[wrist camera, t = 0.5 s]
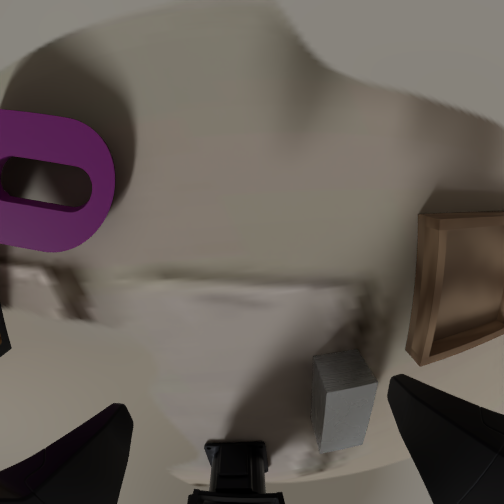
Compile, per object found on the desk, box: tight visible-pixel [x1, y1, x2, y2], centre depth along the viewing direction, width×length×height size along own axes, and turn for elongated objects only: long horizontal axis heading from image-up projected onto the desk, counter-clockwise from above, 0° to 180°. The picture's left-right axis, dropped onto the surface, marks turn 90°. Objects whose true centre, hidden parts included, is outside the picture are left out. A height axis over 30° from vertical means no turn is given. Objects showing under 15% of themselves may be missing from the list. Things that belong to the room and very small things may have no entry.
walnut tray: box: [405, 211, 504, 366], centre depth 20 cm, size 13×14×3 cm
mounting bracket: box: [0, 109, 115, 252], centre depth 16 cm, size 9×8×18 cm
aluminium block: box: [311, 349, 378, 454], centre depth 21 cm, size 8×4×5 cm, turn 5°
